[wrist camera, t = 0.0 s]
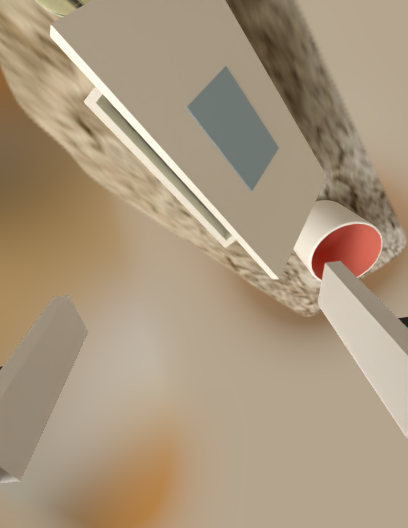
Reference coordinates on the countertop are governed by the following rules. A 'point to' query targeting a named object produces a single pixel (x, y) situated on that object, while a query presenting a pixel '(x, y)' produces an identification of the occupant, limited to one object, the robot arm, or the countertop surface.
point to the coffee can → (62, 6)
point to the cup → (338, 239)
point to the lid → (203, 112)
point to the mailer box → (156, 164)
